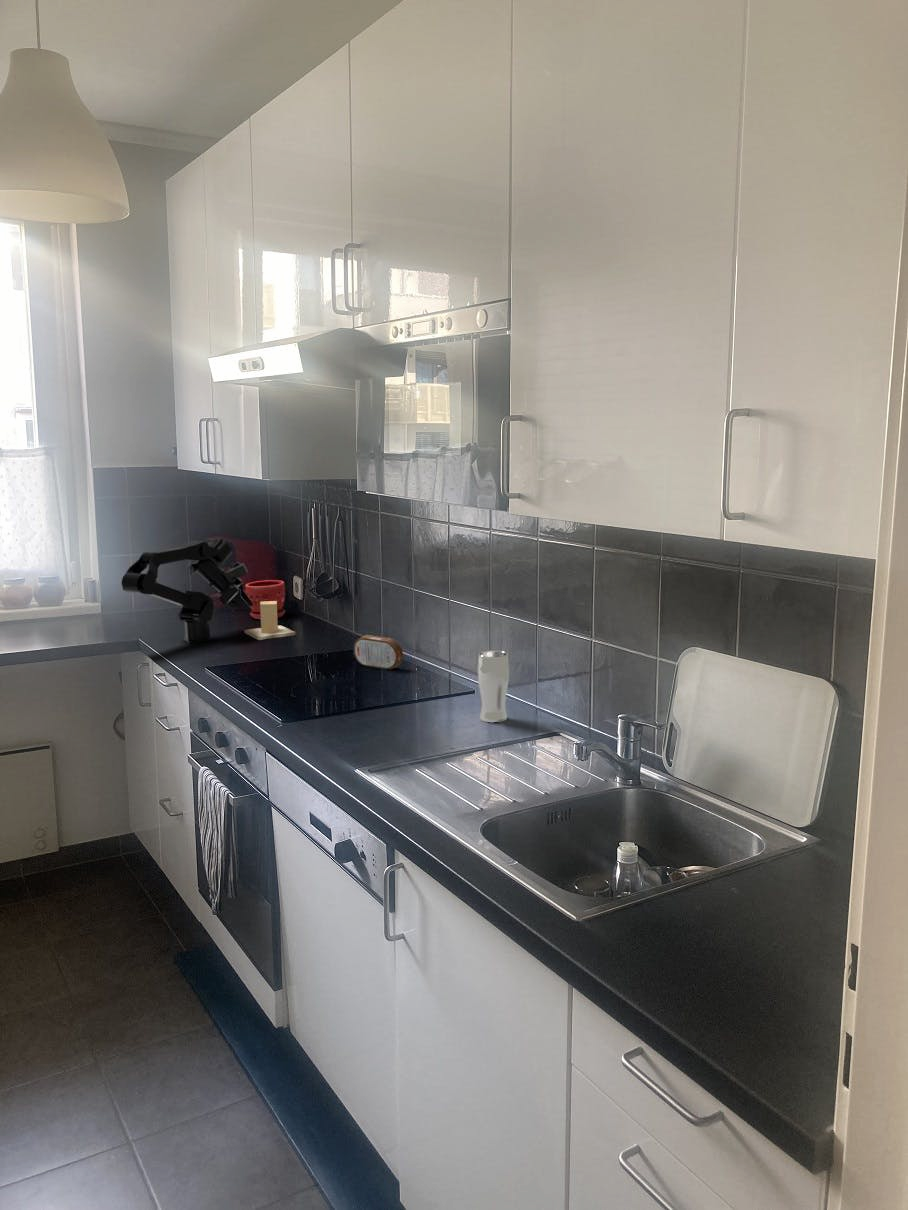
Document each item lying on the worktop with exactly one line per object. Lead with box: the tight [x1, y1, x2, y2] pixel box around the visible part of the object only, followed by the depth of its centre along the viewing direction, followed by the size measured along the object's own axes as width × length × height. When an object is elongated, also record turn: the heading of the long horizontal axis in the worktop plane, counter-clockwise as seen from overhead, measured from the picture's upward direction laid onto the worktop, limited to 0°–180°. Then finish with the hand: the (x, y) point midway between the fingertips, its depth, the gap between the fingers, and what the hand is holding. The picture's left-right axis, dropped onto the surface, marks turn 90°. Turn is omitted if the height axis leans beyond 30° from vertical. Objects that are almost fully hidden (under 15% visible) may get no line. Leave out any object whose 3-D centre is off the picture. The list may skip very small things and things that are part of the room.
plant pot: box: [244, 579, 286, 620], centre depth 336 cm, size 13×13×12 cm
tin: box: [353, 634, 404, 670], centre depth 268 cm, size 15×3×8 cm, turn 58°
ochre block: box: [260, 601, 279, 633], centre depth 310 cm, size 5×5×9 cm
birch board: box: [244, 625, 296, 641], centre depth 311 cm, size 12×12×1 cm
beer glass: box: [477, 649, 510, 724], centre depth 221 cm, size 7×7×15 cm
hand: (251, 608), depth 308 cm, fingers open, 9 cm apart
